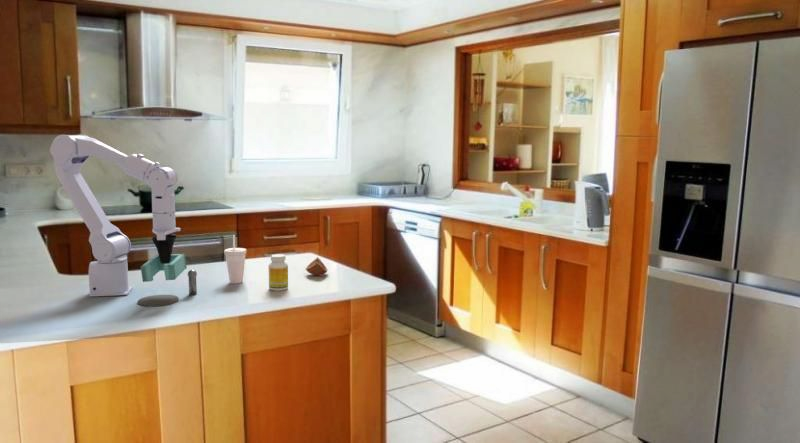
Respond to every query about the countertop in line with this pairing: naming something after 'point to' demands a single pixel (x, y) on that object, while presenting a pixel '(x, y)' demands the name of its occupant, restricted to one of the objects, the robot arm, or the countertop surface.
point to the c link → (164, 267)
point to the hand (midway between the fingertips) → (165, 262)
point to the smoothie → (235, 263)
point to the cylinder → (192, 282)
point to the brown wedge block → (316, 267)
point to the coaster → (158, 300)
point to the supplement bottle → (278, 273)
